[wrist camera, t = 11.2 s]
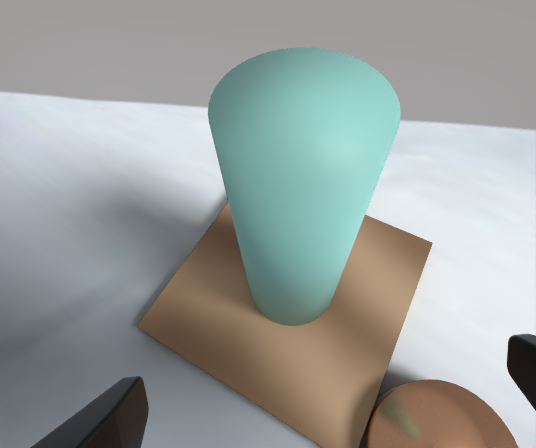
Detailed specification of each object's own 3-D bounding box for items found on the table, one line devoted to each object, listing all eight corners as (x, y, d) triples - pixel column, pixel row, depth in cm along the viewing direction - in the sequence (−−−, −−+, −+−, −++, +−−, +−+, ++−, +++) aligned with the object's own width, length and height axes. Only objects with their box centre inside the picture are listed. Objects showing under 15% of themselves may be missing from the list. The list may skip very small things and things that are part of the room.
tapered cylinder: (283, 344, 17) (283, 216, 7) (233, 275, 19) (174, 93, 9) (351, 292, 18) (443, 114, 8) (298, 232, 20) (315, 28, 10)
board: (348, 463, 15) (351, 465, 14) (143, 331, 19) (136, 326, 18) (426, 250, 20) (432, 243, 19) (254, 177, 24) (253, 168, 23)
